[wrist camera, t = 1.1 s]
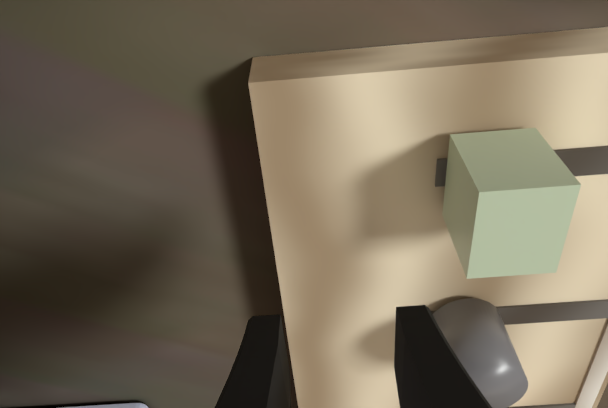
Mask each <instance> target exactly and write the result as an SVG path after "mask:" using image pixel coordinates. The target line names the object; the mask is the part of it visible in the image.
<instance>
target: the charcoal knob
mask: <svg viewBox="0 0 608 408" xmlns="http://www.w3.org/2000/svg"><path fill="white" fill-rule="evenodd" d="M433 316H434V318H435V320H436V322H437V324H438V326H439V327H440V329H441V331H442V333H443V334H444V336H445V338H446V340H447V341H448V343H449V345H450V346H451V348H452V349H453V351H454V353H455V354H456V356H457V357H458V359H459V360H460V362H461V364H462V365H463V367H464V368H465V370H466V371H467V373H468V374H469V376H470V377H471V378H472V380H473V381H474V383H475V384H476V386H477V387H478V388H479V390H480V391H481V393H482V394H483V396H484V397H485V398H486V400H487V401H488V403H489V404H490V405H491V407H492V408H507V407H509V406H511V405H513V404H514V403H516V402H517V401H519V400H520V399H521V398H522V397H523V396H524V394H525V393H526V391H527V389H528V380H527V377H526V375H525V373H524V370H523V368H522V366H521V363H520V361H519V358H518V356H517V354H516V351H515V349H514V347H513V344H512V342H511V339H510V337H509V335H508V332H507V330H506V328H505V325H504V323H503V320H502V318H501V316H500V313H499V311H498V309H497V308H496V307H495V306H494V305H493V304H491V303H490V302H487V301H485V300H481V299H474V298H467V299H460V300H456V301H453V302H450V303H448V304H446V305H444V306H442V307H440V308H439V309H438V310H437V311H436V312H434V314H433Z"/></svg>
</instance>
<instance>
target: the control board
mask: <svg viewBox="0 0 608 408" xmlns="http://www.w3.org/2000/svg"><path fill="white" fill-rule="evenodd" d="M248 85H249V91H250V98H251V104H252V111H253V117H254V124H255V130H256V137H257V143H258V150H259V156H260V163H261V169H262V176H263V182H264V189H265V195H266V202H267V208H268V215H269V221H270V228H271V234H272V240H273V247H274V253H275V260H276V266H277V273H278V279H279V286H280V292H281V299H282V305H283V312H284V318H285V325H286V331H287V338H288V344H289V351H290V357H291V364H292V370H293V377H294V383H295V389H296V396H297V402H298V408H400V404H399V397H398V391H397V384H396V377H395V370H394V352H395V323H396V307H401V306H416V305H426V306H427V307H428V308H430V310H431V312H432V314H434V312H436V311H437V310H438V309H439V308H440V307H442V306H444V305H446V304H448V303H450V302H453V301H456V300H460V299H467V298H474V299H481V300H485V301H487V302H490V303H491V304H493V305H494V306H495V307H496V308H497V309H498V311H499V313H500V316H501V318H502V320H503V323H504V325H505V328H506V330H507V332H508V335H509V337H510V339H511V342H512V344H513V347H514V349H515V351H516V354H517V356H518V358H519V361H520V363H521V366H522V368H523V370H524V373H525V375H526V377H527V380H528V389H527V391H526V393H525V394H524V396H523V397H522V398H521V399H520V400H519V401H517V402H516V403H514V404H513V405H511V406H509V407H507V408H597V405H598V403H599V401H600V398H601V396H602V394H603V392H604V389H605V387H606V385H607V383H608V27H602V28H590V29H578V30H567V31H555V32H543V33H532V34H520V35H508V36H497V37H485V38H473V39H461V40H450V41H438V42H426V43H415V44H403V45H391V46H380V47H368V48H356V49H345V50H333V51H321V52H309V53H298V54H286V55H274V56H263V57H253V59H252V65H251V70H250V76H249V81H248ZM525 128H536V129H537V130H538V131H539V133H540V134H541V135H542V136H543V138H544V139H545V140H546V141H547V143H548V144H549V145H550V146H551V148H552V149H553V150H554V151H555V153H556V154H557V155H558V156H559V158H560V159H561V160H562V161H563V163H564V164H565V165H566V166H567V168H568V169H569V170H570V171H571V173H572V174H573V175H574V176H575V178H576V179H577V180H578V181H579V183H580V184H581V187H580V191H579V194H578V198H577V201H576V205H575V208H574V212H573V215H572V219H571V222H570V226H569V229H568V233H567V236H566V240H565V243H564V247H563V250H562V254H561V257H560V261H559V264H558V268H557V271H556V273H544V274H530V275H515V276H501V277H486V278H472V279H467V278H466V276H465V273H464V270H463V268H462V265H461V263H460V260H459V257H458V255H457V252H456V249H455V247H454V244H453V242H452V239H451V236H450V234H449V231H448V228H447V226H446V223H445V221H444V218H443V215H442V212H443V202H444V191H445V181H446V170H447V160H448V150H449V139H450V134H462V133H474V132H487V131H500V130H512V129H525Z"/></svg>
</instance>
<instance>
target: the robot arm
mask: <svg viewBox="0 0 608 408" xmlns="http://www.w3.org/2000/svg"><path fill="white" fill-rule="evenodd" d="M394 370H395V377H396V384H397V391H398V397H399V404H400V408H492V407H491V405H490V404H489V403H488V401H487V400H486V398H485V397H484V396H483V394H482V393H481V391H480V390H479V388H478V387H477V386H476V384H475V383H474V381H473V380H472V378H471V377H470V376H469V374H468V373H467V371H466V370H465V368H464V367H463V365H462V364H461V362H460V360H459V359H458V357H457V356H456V354H455V353H454V351H453V349H452V348H451V346H450V345H449V343H448V341H447V340H446V338H445V336H444V334H443V333H442V331H441V329H440V327H439V326H438V324H437V322H436V320H435V318H434V316H433V314H432V312H431V310H430V308H428V307H427V306H426V305H416V306H401V307H396V323H395V352H394ZM58 408H148V407H147V406H146V405H145V404H143V403H123V404H107V405H91V406H75V407H58ZM215 408H291V396H290V370H289V364H288V357H287V351H286V345H285V338H284V332H283V326H282V320H281V315H267V316H253V317H252V318H250V319H249V320H248V323H247V327H246V330H245V334H244V337H243V340H242V343H241V346H240V349H239V351H238V354H237V357H236V359H235V362H234V364H233V367H232V369H231V372H230V374H229V377H228V379H227V381H226V384H225V386H224V388H223V390H222V393H221V395H220V397H219V399H218V402H217V404H216V406H215Z"/></svg>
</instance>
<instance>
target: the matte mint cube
mask: <svg viewBox="0 0 608 408" xmlns="http://www.w3.org/2000/svg"><path fill="white" fill-rule="evenodd" d="M580 187H581V184H580V183H579V181H578V180H577V179H576V178H575V176H574V175H573V174H572V173H571V171H570V170H569V169H568V168H567V166H566V165H565V164H564V163H563V161H562V160H561V159H560V158H559V156H558V155H557V154H556V153H555V151H554V150H553V149H552V148H551V146H550V145H549V144H548V143H547V141H546V140H545V139H544V138H543V136H542V135H541V134H540V133H539V131H538V130H537V129H536V128H525V129H512V130H500V131H487V132H474V133H462V134H450V139H449V150H448V160H447V170H446V181H445V191H444V202H443V212H442V215H443V218H444V221H445V223H446V226H447V228H448V231H449V234H450V236H451V239H452V242H453V244H454V247H455V249H456V252H457V255H458V257H459V260H460V263H461V265H462V268H463V270H464V273H465V276H466V278H467V279H472V278H486V277H501V276H515V275H530V274H544V273H556V271H557V268H558V264H559V261H560V257H561V254H562V250H563V247H564V243H565V240H566V236H567V233H568V229H569V226H570V222H571V219H572V215H573V212H574V208H575V205H576V201H577V198H578V194H579V191H580Z"/></svg>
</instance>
